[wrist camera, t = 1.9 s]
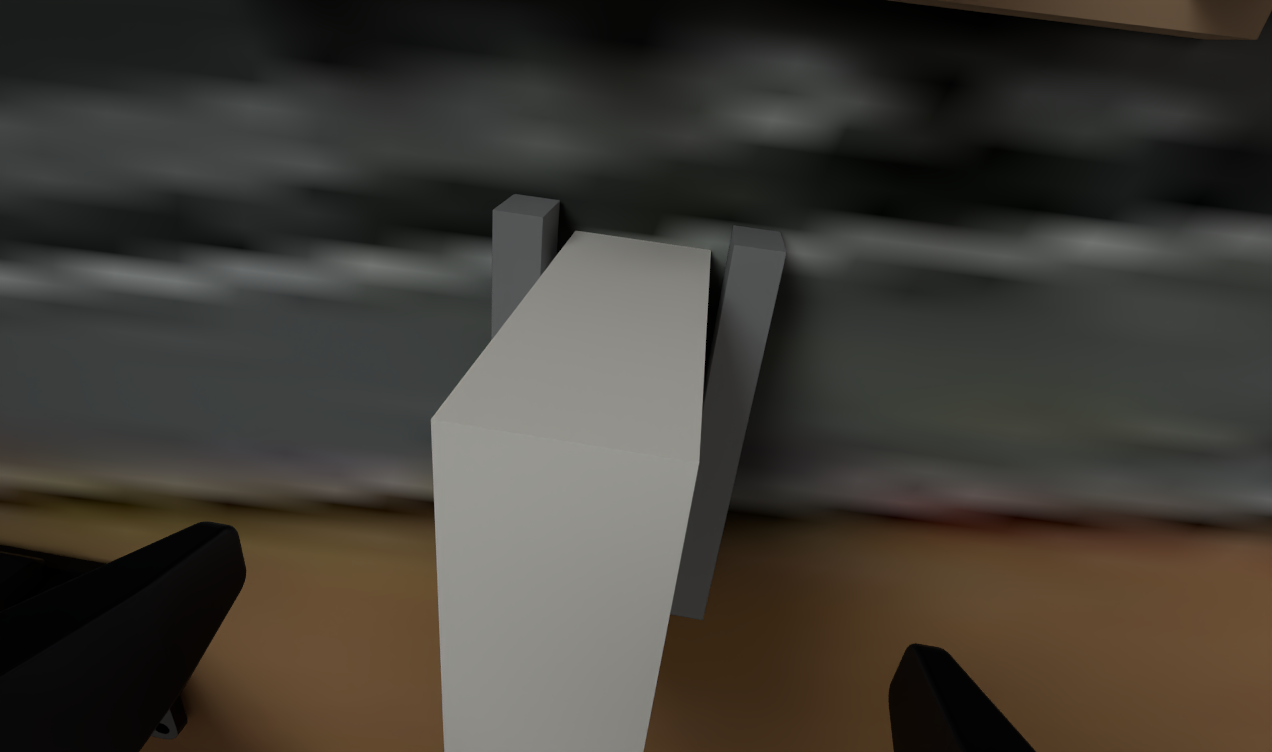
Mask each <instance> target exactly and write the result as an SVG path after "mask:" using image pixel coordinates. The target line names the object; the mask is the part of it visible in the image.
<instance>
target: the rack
mask: <svg viewBox="0 0 1272 752" xmlns="http://www.w3.org/2000/svg"><path fill="white" fill-rule="evenodd" d="M888 1H896V2H904V3H912V4H920V5H929V6H937V7H945V8H953V9H961V10H969V11H977V12H985V13H993V14H1001V15H1010V16H1018V17H1026V18H1034V19H1042V20H1050V21H1058V22H1066V23H1074V24H1082V25H1091V26H1099V27H1107V28H1115V29H1123V30H1131V31H1139V32H1147V33H1155V34H1163V35H1172V36H1180V37H1188V38H1196V39H1204V40H1257V39H1258V37H1259V35H1260V33H1261V31H1262V29H1263V27H1264V25H1265V23H1266V21H1267V19H1268V17H1269V15H1270V13H1271V11H1272V0H888Z"/></svg>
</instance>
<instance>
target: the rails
mask: <svg viewBox="0 0 1272 752" xmlns="http://www.w3.org/2000/svg"><path fill="white" fill-rule="evenodd" d="M559 207H560V200H553V199H546V198H539V197H532V196H525V195H518V194H514V195H512V196H511V197H510V198H508V199H507V200H506V201H504V202H503V203H502V204H500V205H499V206H498V207H496V208H495V209H494V210H493V241H492V339H493V338H494V336H495V335H496V334H497V332H498V331H499V330H500V329H501V327H502V326H503V325H504V323H505V322H506V321H507V319H508V318H509V317H510V316H511V314H512V313H513V312H514V310H515V309H516V308H517V306H518V305H519V304H520V302H521V301H522V300H523V299H524V297H525V296H526V295H527V293H528V292H529V291H530V289H531V288H532V287H533V286H534V284H535V283H536V282H537V280H538V279H539V278H540V276H541V275H542V274H543V272H544V271H545V270H546V269H547V267H548V266H549V265H550V263H551V262H552V261H553V259H554V258H555V257H556V256H557V241H558V224H559ZM786 253H787V252H786V249H785V246H784V242H783V239H782V236H781V232H778V231H771V230H763V229H756V228H749V227H742V226H735V225H733V230H732V235H731V241H730V246H729V251H728V257H727V262H726V268H725V273H724V278H723V284H722V289H721V295H720V300H719V306H718V311H717V316H716V322H715V327H714V333H713V338H712V343H711V349H710V354H709V360H708V365H707V370H706V376H705V381H704V387H703V403H702V421H701V439H700V457H699V466H698V472H697V477H696V482H695V487H694V492H693V497H692V503H691V508H690V513H689V518H688V523H687V528H686V534H685V539H684V544H683V549H682V554H681V559H680V565H679V570H678V575H677V580H676V585H675V591H674V596H673V601H672V606H671V611H670V615H676V616H681V617H687V618H693V619H699V620H703V617H704V612H705V608H706V604H707V599H708V595H709V591H710V586H711V582H712V577H713V573H714V569H715V564H716V560H717V555H718V551H719V547H720V542H721V538H722V533H723V529H724V525H725V520H726V516H727V511H728V507H729V503H730V498H731V494H732V490H733V485H734V481H735V476H736V472H737V468H738V463H739V459H740V454H741V450H742V446H743V441H744V437H745V432H746V428H747V424H748V419H749V415H750V411H751V406H752V402H753V397H754V393H755V389H756V384H757V380H758V375H759V371H760V367H761V362H762V358H763V353H764V349H765V345H766V340H767V336H768V332H769V327H770V323H771V318H772V314H773V310H774V305H775V301H776V296H777V292H778V288H779V283H780V279H781V274H782V270H783V266H784V261H785V257H786Z"/></svg>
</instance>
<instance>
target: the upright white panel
mask: <svg viewBox="0 0 1272 752" xmlns="http://www.w3.org/2000/svg"><path fill="white" fill-rule="evenodd" d="M710 258H711V250H705V249H698V248H692V247H685V246H678V245H671V244H664V243H657V242H650V241H643V240H636V239H630V238H623V237H616V236H609V235H602V234H595V233H588V232H581V231H575V232H574V233H573V235H572V236H571V237H570V239H569V240H568V241H567V242H566V244H565V245H564V246H563V248H562V249H561V250H560V252H559V253H558V254H557V256H556V257H555V258H554V259H553V261H552V262H551V263H550V265H549V266H548V267H547V269H546V270H545V271H544V272H543V274H542V275H541V276H540V278H539V279H538V280H537V282H536V283H535V284H534V286H533V287H532V288H531V289H530V291H529V292H528V293H527V295H526V296H525V297H524V299H523V300H522V301H521V302H520V304H519V305H518V306H517V308H516V309H515V310H514V312H513V313H512V314H511V316H510V317H509V318H508V319H507V321H506V322H505V323H504V325H503V326H502V327H501V329H500V330H499V331H498V332H497V334H496V335H495V336H494V338H493V339H492V340H491V342H490V343H489V344H488V346H487V347H486V348H485V349H484V351H483V352H482V353H481V355H480V356H479V357H478V359H477V360H476V361H475V362H474V364H473V365H472V366H471V368H470V369H469V370H468V372H467V373H466V374H465V376H464V377H463V378H462V379H461V381H460V382H459V383H458V385H457V386H456V387H455V389H454V390H453V391H452V392H451V394H450V395H449V396H448V398H447V399H446V400H445V402H444V403H443V404H442V406H441V407H440V408H439V409H438V411H437V412H436V413H435V415H434V416H433V417H432V419H431V433H432V458H433V483H434V508H435V533H436V557H437V582H438V607H439V632H440V657H441V682H442V707H443V732H444V752H643V751H644V746H645V741H646V735H647V730H648V725H649V720H650V715H651V710H652V704H653V699H654V694H655V689H656V684H657V678H658V673H659V668H660V663H661V658H662V653H663V647H664V642H665V637H666V632H667V627H668V622H669V616H670V611H671V606H672V601H673V596H674V591H675V585H676V580H677V575H678V570H679V565H680V559H681V554H682V549H683V544H684V539H685V534H686V528H687V523H688V518H689V513H690V508H691V503H692V497H693V492H694V487H695V482H696V477H697V472H698V466H699V457H700V439H701V421H702V403H703V385H704V367H705V349H706V331H707V313H708V295H709V276H710Z"/></svg>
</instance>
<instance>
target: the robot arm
mask: <svg viewBox="0 0 1272 752" xmlns="http://www.w3.org/2000/svg"><path fill="white" fill-rule="evenodd" d="M245 578H246V566H245V562H244V557H243V553H242V548H241V544H240V539H239V535H238V532H237V530H236V529H235V528H234V527H233V526H230V525H225V524H219V523H214V522H200V523H197V524H194V525H192V526H190V527H188V528H185V529H183V530H181V531H179V532H177V533H174V534H172V535H170V536H168V537H165V538H163V539H161V540H159V541H156V542H154V543H152V544H150V545H148V546H145V547H143V548H141V549H139V550H136V551H134V552H132V553H130V554H128V555H125V556H123V557H121V558H119V559H116V560H114V561H112V562H110V563H107V564H104V563H98V562H93V561H87V560H81V559H76V558H70V557H65V556H59V555H53V554H48V553H42V552H37V551H31V550H25V549H20V548H14V547H9V546H3V545H0V752H139V751H140V750H141V749H142V747H143V746H144V744H145V743H146V742H147V740H148V739H149V737H150V736H153V737H158V738H163V739H173V738H176V736H177V735H178V734H179V733H180V731H181V730H182V729H183V728H184V726H185V725H186V724H187V716H186V713H185V710H184V707H183V704H182V701H181V698H180V693H181V691H182V690H183V688H184V687H185V685H186V683H187V682H188V680H189V678H190V677H191V675H192V673H193V672H194V670H195V668H196V667H197V665H198V663H199V661H200V660H201V658H202V656H203V655H204V653H205V651H206V649H207V648H208V646H209V644H210V643H211V641H212V639H213V637H214V636H215V634H216V632H217V631H218V629H219V627H220V625H221V624H222V622H223V620H224V619H225V617H226V615H227V613H228V612H229V610H230V608H231V607H232V605H233V603H234V601H235V600H236V598H237V596H238V595H239V593H240V591H241V589H242V587H243V585H244V582H245ZM889 711H890V721H891V730H892V739H893V749H894V752H1036V751H1035V750H1034V749H1033V748H1032V747H1031V745H1030V744H1029V743H1028V742H1027V741H1026V740H1025V739H1024V738H1023V736H1022V735H1021V734H1020V733H1019V732H1018V731H1017V730H1016V729H1015V727H1014V726H1013V725H1012V724H1011V723H1010V722H1009V721H1008V719H1007V718H1006V717H1005V716H1004V715H1003V714H1002V713H1001V712H1000V710H999V709H998V708H997V707H996V706H995V705H994V704H993V703H992V701H991V700H990V699H989V698H988V697H987V696H986V695H985V694H984V692H983V691H982V690H981V689H980V688H979V687H978V686H977V685H976V683H975V682H974V681H973V680H972V679H971V678H970V677H969V676H968V674H967V673H966V672H965V671H964V670H963V669H962V668H961V667H960V665H959V664H958V663H957V662H956V661H955V660H954V659H953V657H952V656H951V655H950V654H949V653H948V652H946V651H945V650H944V649H942V648H939V647H934V646H928V645H922V644H916V643H915V644H911V645H909V646H908V647H907V649H906V650H905V653H904V655H903V657H902V659H901V661H900V664H899V666H898V668H897V670H896V673H895V675H894V677H893V679H892V682H891V684H890V688H889Z"/></svg>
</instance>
